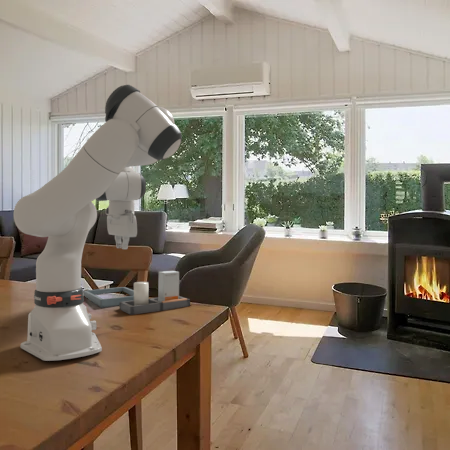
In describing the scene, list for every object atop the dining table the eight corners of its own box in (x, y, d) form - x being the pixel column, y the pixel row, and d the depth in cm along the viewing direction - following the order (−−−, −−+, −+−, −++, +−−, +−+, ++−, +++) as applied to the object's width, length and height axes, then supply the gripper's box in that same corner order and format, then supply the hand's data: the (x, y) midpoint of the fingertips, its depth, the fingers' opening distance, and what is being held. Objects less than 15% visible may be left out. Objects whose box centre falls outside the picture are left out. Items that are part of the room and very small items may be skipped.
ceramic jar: (151, 310, 150) (150, 283, 150) (137, 312, 148) (137, 284, 147) (144, 307, 154) (144, 281, 154) (131, 309, 152) (131, 282, 151)
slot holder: (190, 306, 156) (190, 298, 156) (130, 314, 144) (130, 305, 144) (177, 302, 164) (177, 294, 164) (119, 309, 152) (119, 300, 152)
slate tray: (145, 303, 161) (145, 294, 161) (101, 308, 153) (101, 299, 152) (124, 294, 178) (124, 286, 178) (83, 298, 169) (83, 290, 169)
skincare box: (163, 308, 153) (163, 273, 152) (157, 306, 156) (157, 271, 156) (179, 306, 156) (179, 271, 156) (173, 304, 160) (173, 270, 159)
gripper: (141, 210, 156) (141, 250, 156) (120, 209, 173) (120, 246, 173) (124, 210, 152) (124, 251, 153) (103, 209, 170) (104, 246, 170)
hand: (121, 248), depth 163 cm, fingers open, 4 cm apart
